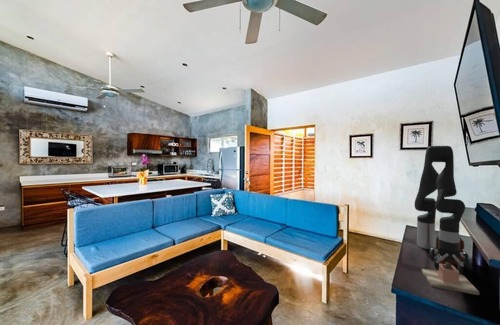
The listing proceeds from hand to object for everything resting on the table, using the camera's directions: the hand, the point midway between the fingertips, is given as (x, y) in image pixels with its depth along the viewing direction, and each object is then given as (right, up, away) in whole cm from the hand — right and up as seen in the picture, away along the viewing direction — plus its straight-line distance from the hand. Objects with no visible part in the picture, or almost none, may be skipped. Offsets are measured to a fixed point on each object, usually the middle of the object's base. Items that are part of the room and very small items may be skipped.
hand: (448, 271), depth 105 cm
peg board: (0, -6, 0) cm, 6 cm away
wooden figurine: (+17, -5, +18) cm, 25 cm away
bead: (0, -4, 0) cm, 4 cm away
